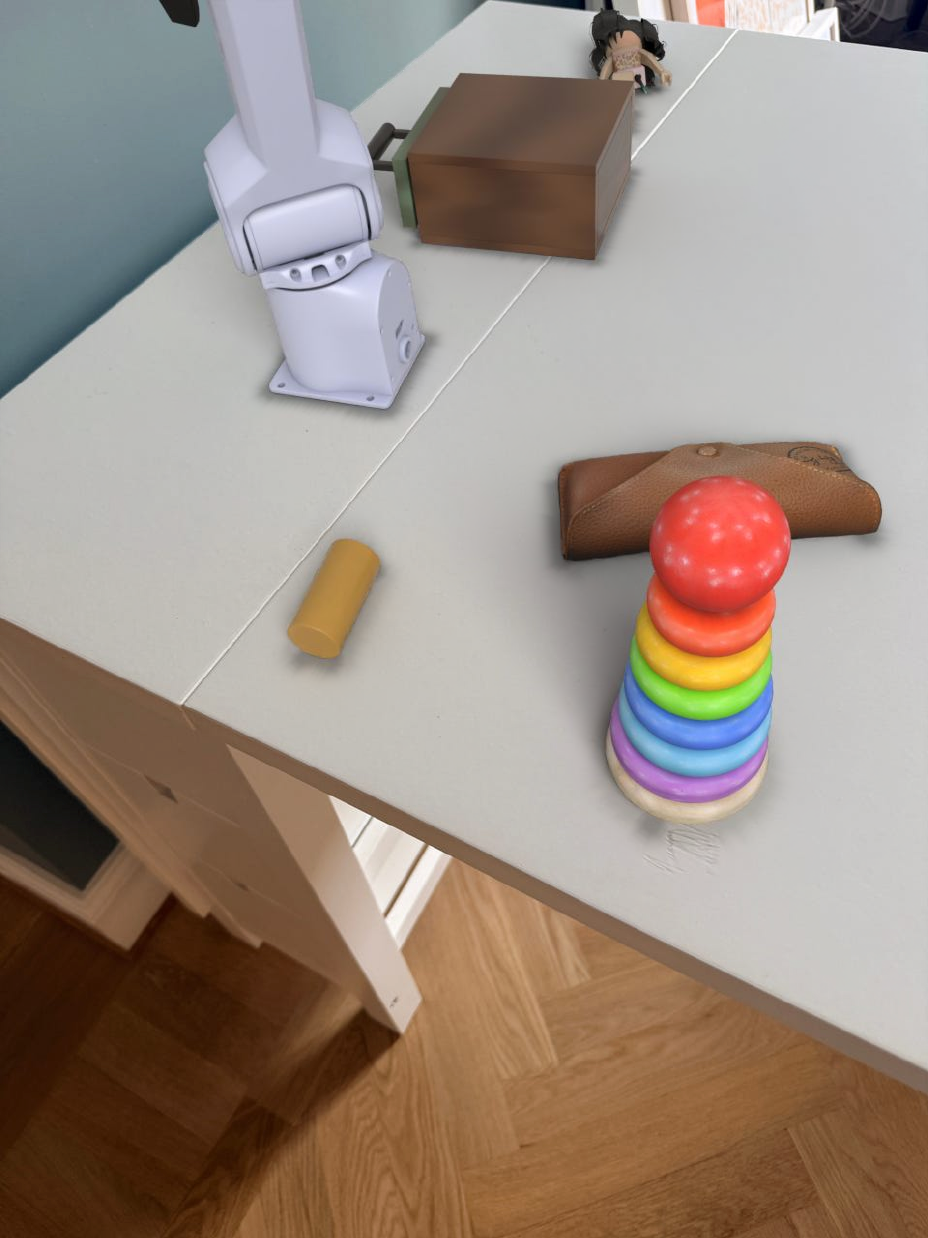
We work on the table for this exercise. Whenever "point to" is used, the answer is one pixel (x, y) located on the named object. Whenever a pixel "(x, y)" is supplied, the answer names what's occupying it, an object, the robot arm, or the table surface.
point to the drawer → (402, 157)
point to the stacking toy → (702, 655)
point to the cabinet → (523, 163)
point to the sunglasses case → (642, 482)
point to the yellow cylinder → (334, 598)
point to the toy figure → (627, 50)
